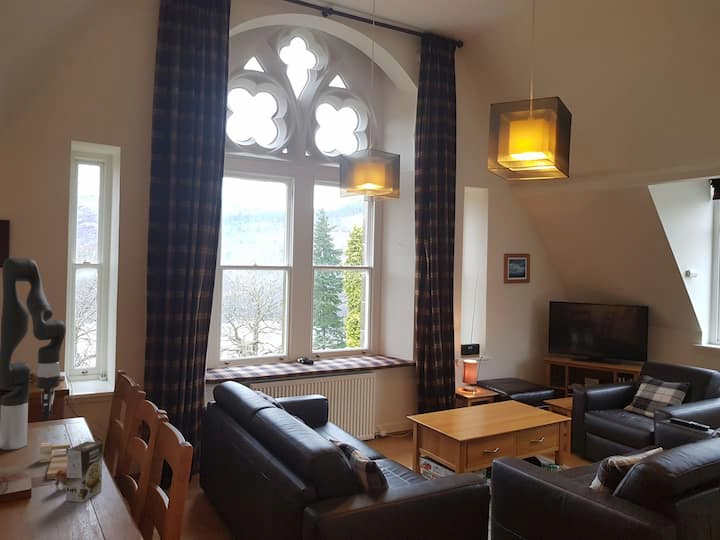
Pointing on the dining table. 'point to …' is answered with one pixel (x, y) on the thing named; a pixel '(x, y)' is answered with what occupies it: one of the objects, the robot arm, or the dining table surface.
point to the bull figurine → (61, 477)
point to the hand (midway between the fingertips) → (47, 417)
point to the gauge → (50, 451)
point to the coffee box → (84, 471)
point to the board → (57, 463)
